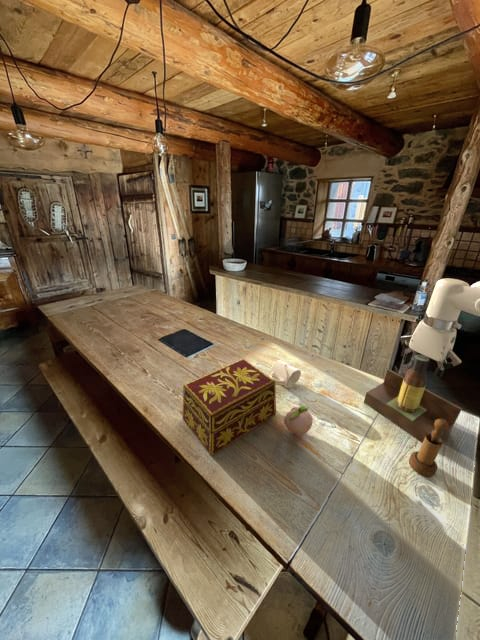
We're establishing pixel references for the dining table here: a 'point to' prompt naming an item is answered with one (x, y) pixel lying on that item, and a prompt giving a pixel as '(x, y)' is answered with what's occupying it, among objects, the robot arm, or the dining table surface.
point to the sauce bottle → (413, 385)
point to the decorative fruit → (298, 420)
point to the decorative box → (228, 404)
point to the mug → (284, 374)
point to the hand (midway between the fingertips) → (420, 370)
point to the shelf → (411, 422)
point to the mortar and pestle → (429, 451)
